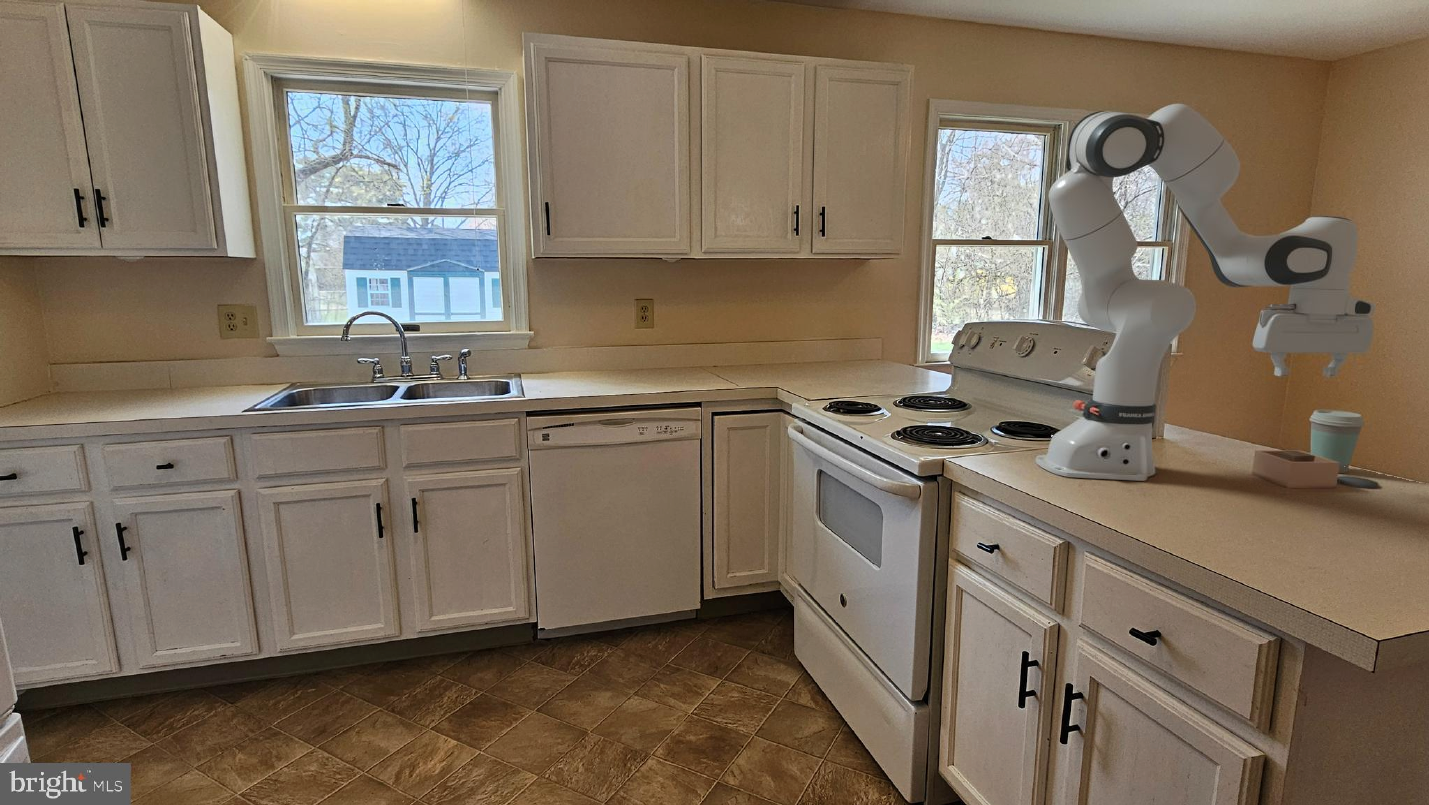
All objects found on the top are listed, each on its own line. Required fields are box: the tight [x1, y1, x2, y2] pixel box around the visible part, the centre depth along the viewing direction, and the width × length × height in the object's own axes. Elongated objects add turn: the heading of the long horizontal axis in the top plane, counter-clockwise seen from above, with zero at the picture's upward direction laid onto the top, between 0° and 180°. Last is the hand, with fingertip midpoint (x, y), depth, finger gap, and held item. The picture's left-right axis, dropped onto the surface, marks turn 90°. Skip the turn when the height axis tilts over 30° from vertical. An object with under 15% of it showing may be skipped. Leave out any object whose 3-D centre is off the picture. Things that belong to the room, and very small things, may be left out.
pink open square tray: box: [1251, 449, 1340, 489], centre depth 140 cm, size 9×9×5 cm
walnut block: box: [1277, 450, 1315, 462], centre depth 140 cm, size 4×4×5 cm
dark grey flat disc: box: [1337, 475, 1379, 490], centre depth 139 cm, size 6×6×1 cm
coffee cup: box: [1309, 409, 1365, 474], centre depth 148 cm, size 9×8×12 cm
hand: (1305, 376), depth 139 cm, fingers open, 8 cm apart
